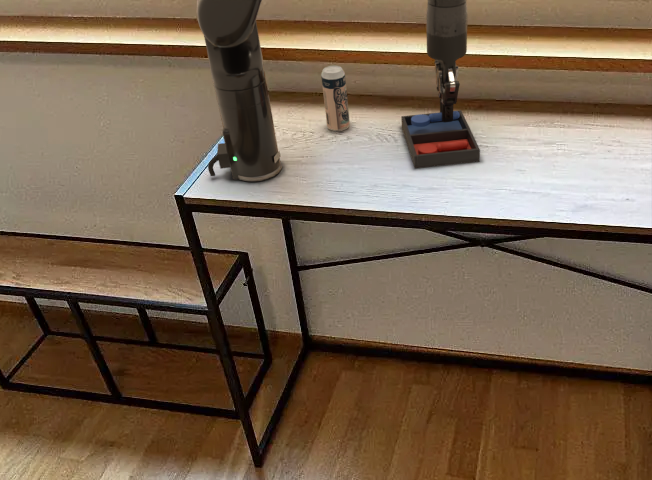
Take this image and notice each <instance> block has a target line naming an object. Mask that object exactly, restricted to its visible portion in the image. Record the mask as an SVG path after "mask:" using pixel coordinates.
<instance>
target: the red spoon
mask: <svg viewBox="0 0 652 480" xmlns="http://www.w3.org/2000/svg"><path fill="white" fill-rule="evenodd" d="M467 147H468V142H467V141H455V142H445V143H438V144H437V145H434V144H423V145H421V146H419V148H418V153H419V155H420V154H429V153H438V151H439V152H442V151H452V150H461V149H466V148H467Z"/></svg>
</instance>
